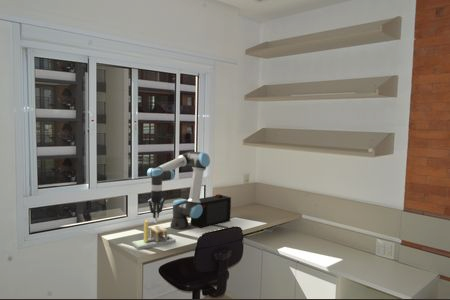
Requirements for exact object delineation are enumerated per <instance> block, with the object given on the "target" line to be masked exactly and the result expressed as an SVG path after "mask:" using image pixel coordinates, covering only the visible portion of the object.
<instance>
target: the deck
mask: <svg viewBox="0 0 450 300" xmlns="http://www.w3.org/2000/svg"><path fill="white" fill-rule="evenodd" d="M163 237H164V238H165V235H163ZM148 239H150V237H148ZM173 243H176V239H175V238H173V237H172V236H171V235H169V234H167V241H166V242H165V240H161V241H158V243H156V242H155V241H149V242H144V239H140V240H133V241H131V246H133V247H134V248H135V249H136V250H137V251H138V249H139V250H144V249H148V248H149V249H150V248H153V247H154V248H155V247H159V246H165V245H169V244H173Z"/></svg>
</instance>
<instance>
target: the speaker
mask: <svg viewBox="0 0 450 300" xmlns="http://www.w3.org/2000/svg"><path fill="white" fill-rule="evenodd" d="M199 200H200V202H201V204H200V205H201V206H202V208H203V211H202V214H201V215H200V216H199V217H198V218H191V217H190V225H191V226H193V227H196V228H198V229H204V228H208V227H211V226H212V227H213V226H216V225H220V224H224V223H229V222H231V208H232V207H231V205H232V197H230V196H226V195H223V194H215V195H213V196H206V197H200V198H199Z"/></svg>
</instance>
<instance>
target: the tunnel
mask: <svg viewBox="0 0 450 300" xmlns="http://www.w3.org/2000/svg"><path fill="white" fill-rule="evenodd" d="M154 231H155V232H156V243H158V233H160V232H163V233H164V236H165V242H166V241H167V235H168V229H166V228H165V227H163V226H162V225H155V226H150V227H149V238H150V239H151V237H153V236H154Z"/></svg>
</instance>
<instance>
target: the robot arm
mask: <svg viewBox="0 0 450 300" xmlns="http://www.w3.org/2000/svg"><path fill="white" fill-rule="evenodd" d="M210 162H211V158H210V156H209V154H208V153H206V152H203V151H187V152H185V153H183V154H180V155H179V156H177V157H176V158H174V159H173V160H170V161H168V162H164V163H163V164H161V165H159V166H157V167H155V168H154V167H150V168H148V169H147V172H146V175H147V177H148V178H151V183H150V184H151V185H150V186H151V187H150V188H151V191H150V199H148V200H147V203H148V206H149V210H150V213H151V214H152V218H153V223H155V224H158V222H159V221H158V219H159V218H160V213H162V211H163V208H164V203H165V201H166V199H165V198H163V191H162V190H163V182H166V181H171V180H174V179H175V177H176V175H175V174H176V173H175V171H174V170H177V169H178V168H181V167H186V166H191V168H192V177H191V184H190V190H189V196H188V199H186V198H181V199H175V200H173V203H172V219H171V221H170V228H172V230H173V229H174V230H186V229H188V228H189V222H188V221H189V220H188V218H190V219H191V218H198V217H199V216H200V215H201V214H202V211H203V208H202V206H201V205H200V204H201V202H200V200H199V199H200V198H201V191H202V183H203V179H204V178H203V177H204V171H206V170H207V167H209V166H210Z"/></svg>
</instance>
